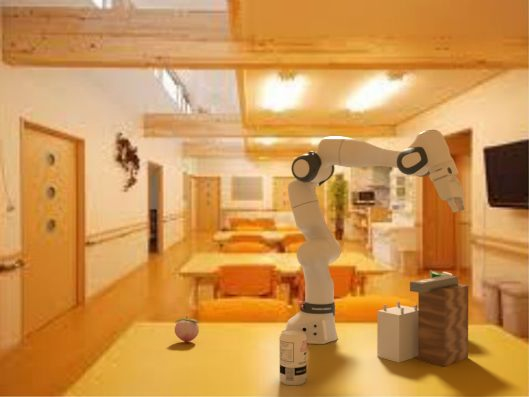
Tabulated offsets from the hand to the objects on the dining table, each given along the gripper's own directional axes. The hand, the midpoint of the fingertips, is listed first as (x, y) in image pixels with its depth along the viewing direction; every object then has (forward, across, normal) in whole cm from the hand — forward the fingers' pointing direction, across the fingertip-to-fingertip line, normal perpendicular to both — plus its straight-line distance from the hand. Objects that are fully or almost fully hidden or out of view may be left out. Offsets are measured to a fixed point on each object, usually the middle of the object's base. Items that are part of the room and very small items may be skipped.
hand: (459, 211), depth 196 cm
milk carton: (+42, -33, -32) cm, 62 cm away
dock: (+40, +5, -36) cm, 54 cm away
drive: (+22, +6, -16) cm, 27 cm away
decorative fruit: (+13, +31, -105) cm, 111 cm away
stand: (+45, +1, -23) cm, 51 cm away
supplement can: (+34, +48, -54) cm, 80 cm away
